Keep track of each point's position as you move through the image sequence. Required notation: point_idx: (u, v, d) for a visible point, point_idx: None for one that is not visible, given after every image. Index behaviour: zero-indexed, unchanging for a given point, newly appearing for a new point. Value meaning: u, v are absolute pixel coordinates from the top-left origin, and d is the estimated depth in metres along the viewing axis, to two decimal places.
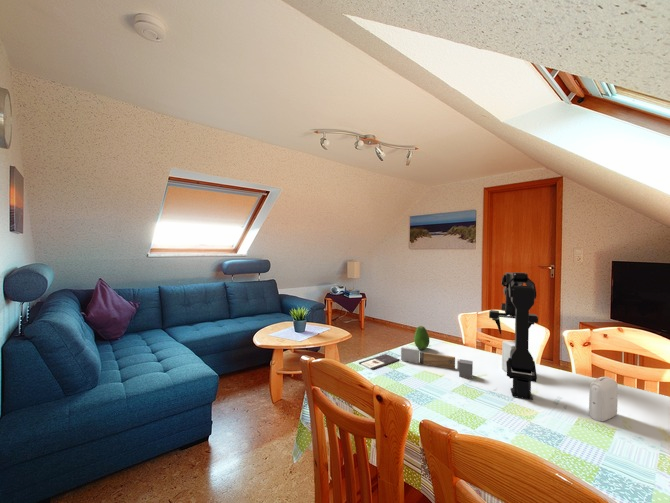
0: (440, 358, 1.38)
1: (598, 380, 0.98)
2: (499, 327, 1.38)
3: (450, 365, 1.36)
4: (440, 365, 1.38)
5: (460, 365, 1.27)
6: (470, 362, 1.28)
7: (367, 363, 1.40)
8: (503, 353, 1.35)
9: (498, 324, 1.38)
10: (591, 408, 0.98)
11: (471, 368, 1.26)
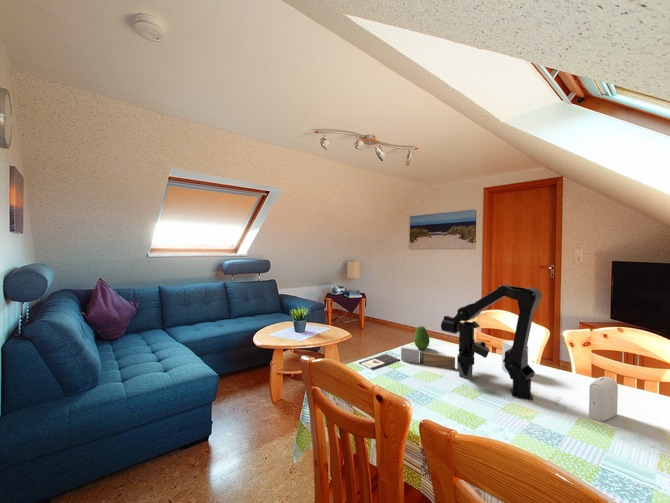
0: (440, 358, 1.38)
1: (598, 380, 0.98)
2: None
3: (450, 365, 1.36)
4: (440, 365, 1.38)
5: None
6: None
7: (367, 363, 1.40)
8: (503, 353, 1.35)
9: None
10: (591, 408, 0.98)
11: (471, 368, 1.26)
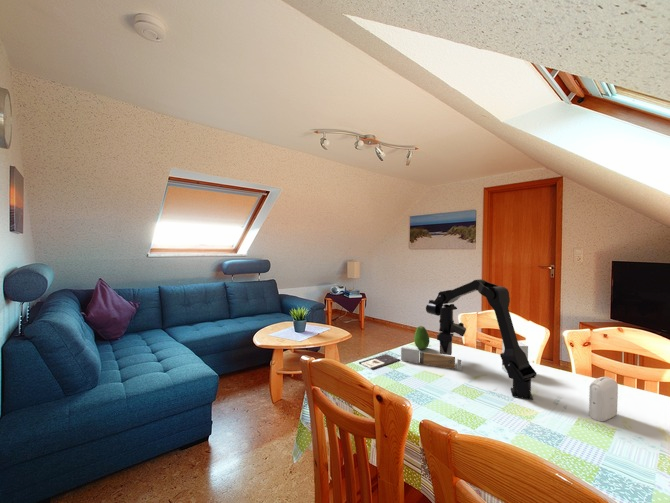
0: (440, 358, 1.38)
1: (598, 380, 0.98)
2: None
3: (450, 365, 1.36)
4: (440, 365, 1.38)
5: (440, 343, 1.42)
6: None
7: (367, 363, 1.40)
8: None
9: None
10: (591, 408, 0.98)
11: (450, 346, 1.40)
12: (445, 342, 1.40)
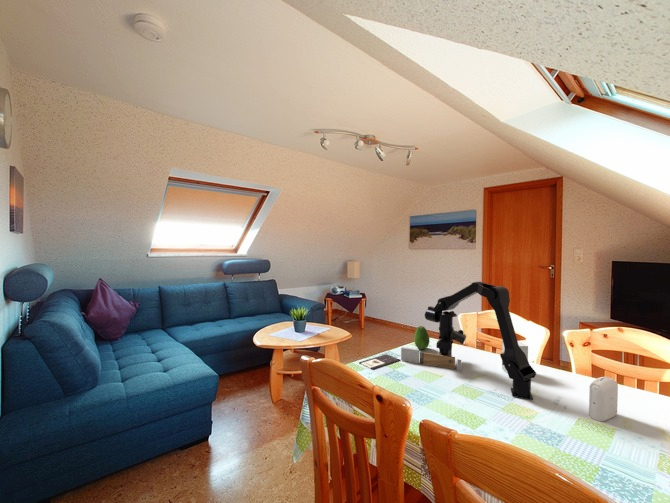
0: (440, 358, 1.38)
1: (598, 380, 0.98)
2: None
3: (450, 365, 1.36)
4: (440, 365, 1.38)
5: None
6: None
7: (367, 363, 1.40)
8: None
9: None
10: (591, 408, 0.98)
11: (450, 353, 1.39)
12: (445, 350, 1.38)
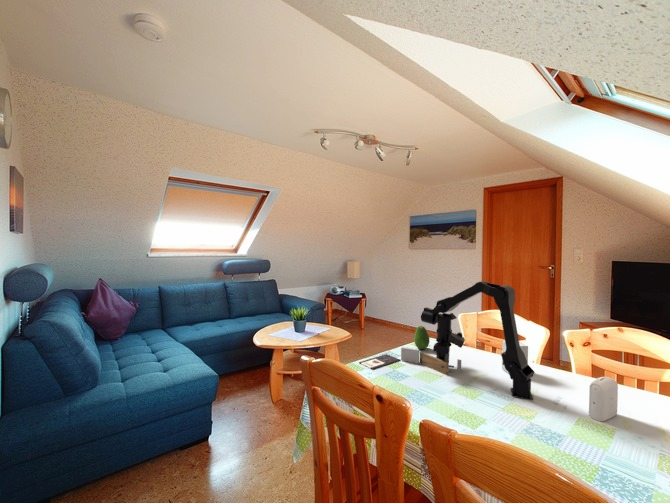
0: (435, 361, 1.34)
1: (598, 380, 0.98)
2: None
3: (442, 370, 1.31)
4: (434, 368, 1.34)
5: None
6: None
7: (367, 363, 1.40)
8: None
9: None
10: (591, 408, 0.98)
11: (447, 356, 1.33)
12: (442, 353, 1.33)
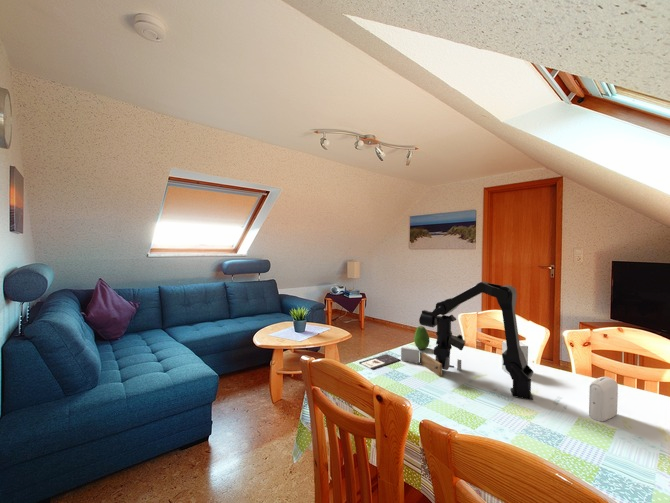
0: (431, 361, 1.34)
1: (598, 380, 0.98)
2: None
3: (436, 371, 1.30)
4: (431, 369, 1.34)
5: (436, 356, 1.32)
6: None
7: (367, 363, 1.40)
8: None
9: None
10: (591, 408, 0.98)
11: (446, 360, 1.30)
12: (442, 356, 1.29)
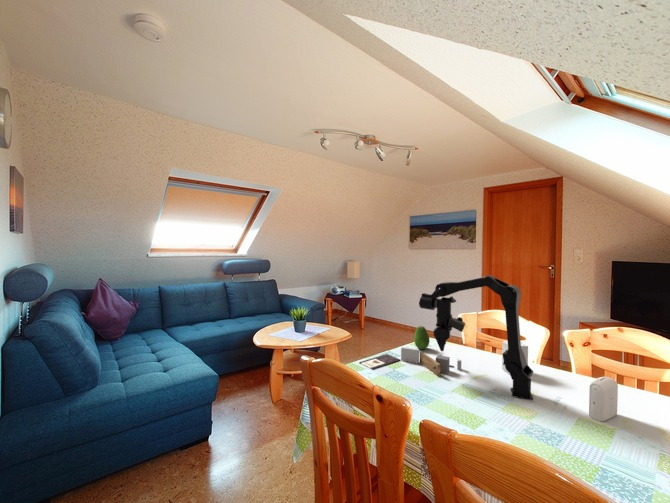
0: (429, 362, 1.33)
1: (598, 380, 0.98)
2: None
3: (435, 371, 1.29)
4: (429, 369, 1.33)
5: (436, 360, 1.32)
6: (446, 358, 1.32)
7: (367, 363, 1.40)
8: None
9: None
10: (591, 408, 0.98)
11: (446, 363, 1.30)
12: (442, 340, 1.27)
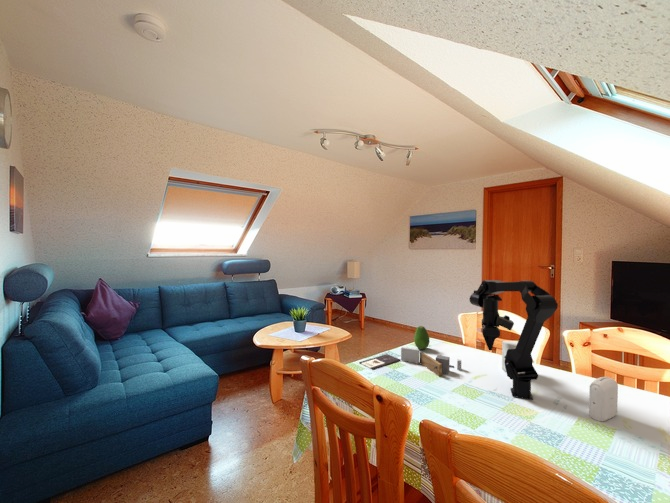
0: (430, 361, 1.34)
1: (598, 380, 0.98)
2: None
3: (436, 371, 1.29)
4: (430, 369, 1.34)
5: (436, 360, 1.32)
6: (446, 358, 1.32)
7: (368, 363, 1.40)
8: (503, 353, 1.35)
9: None
10: (591, 408, 0.98)
11: (446, 363, 1.30)
12: (490, 338, 1.24)
